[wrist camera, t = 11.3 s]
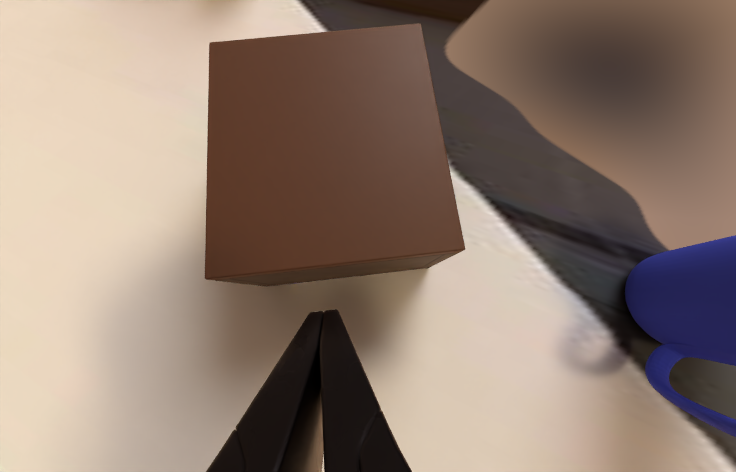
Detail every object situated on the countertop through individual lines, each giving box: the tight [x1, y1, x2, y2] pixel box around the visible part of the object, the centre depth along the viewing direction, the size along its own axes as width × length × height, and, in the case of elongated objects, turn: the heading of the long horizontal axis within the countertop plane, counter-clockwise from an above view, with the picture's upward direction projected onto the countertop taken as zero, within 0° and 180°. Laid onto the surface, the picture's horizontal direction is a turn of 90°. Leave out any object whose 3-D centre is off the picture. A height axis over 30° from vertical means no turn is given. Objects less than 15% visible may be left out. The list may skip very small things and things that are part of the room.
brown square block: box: [205, 23, 465, 280], centre depth 15 cm, size 14×13×1 cm
